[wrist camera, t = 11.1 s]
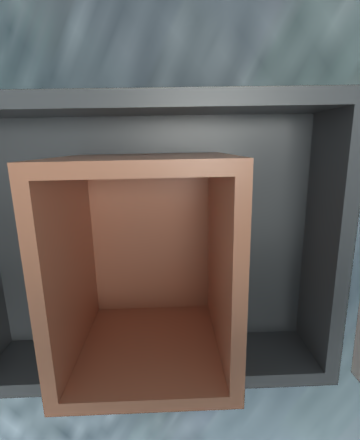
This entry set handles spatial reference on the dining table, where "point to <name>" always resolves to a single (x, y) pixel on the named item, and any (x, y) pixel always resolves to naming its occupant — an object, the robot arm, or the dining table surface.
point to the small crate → (136, 279)
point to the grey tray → (261, 205)
